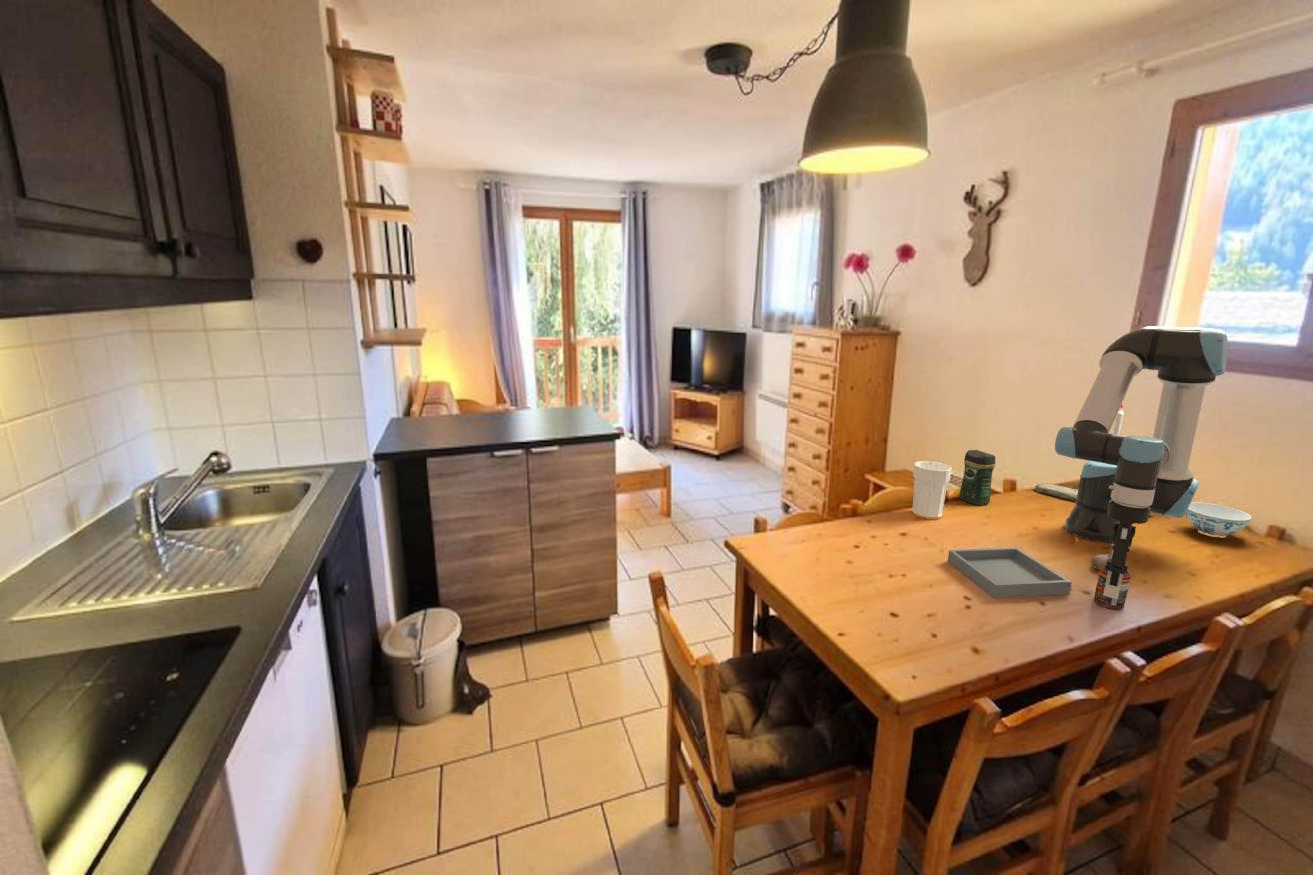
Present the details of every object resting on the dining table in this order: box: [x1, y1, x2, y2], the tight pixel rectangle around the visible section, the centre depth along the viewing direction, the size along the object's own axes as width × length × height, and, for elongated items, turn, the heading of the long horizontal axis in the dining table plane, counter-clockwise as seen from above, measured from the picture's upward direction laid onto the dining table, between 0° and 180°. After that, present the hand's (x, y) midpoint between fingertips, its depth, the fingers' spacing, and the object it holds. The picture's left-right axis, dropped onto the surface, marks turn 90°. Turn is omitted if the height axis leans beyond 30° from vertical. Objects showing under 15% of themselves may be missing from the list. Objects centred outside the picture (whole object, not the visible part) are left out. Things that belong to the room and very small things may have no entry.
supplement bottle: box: [1093, 558, 1132, 610], centre depth 139 cm, size 6×6×11 cm
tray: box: [947, 546, 1072, 599], centre depth 153 cm, size 20×20×4 cm
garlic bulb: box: [1090, 543, 1114, 571], centre depth 156 cm, size 8×7×8 cm
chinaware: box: [1185, 502, 1252, 536], centre depth 180 cm, size 15×15×8 cm
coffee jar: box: [959, 449, 996, 506], centre depth 207 cm, size 10×8×19 cm
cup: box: [911, 460, 952, 521], centre depth 194 cm, size 11×11×17 cm
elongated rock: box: [1034, 482, 1153, 517], centre depth 208 cm, size 35×5×10 cm
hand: (1112, 586), depth 139 cm, fingers open, 13 cm apart
